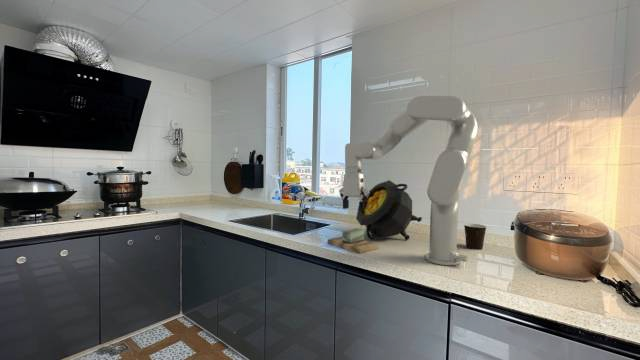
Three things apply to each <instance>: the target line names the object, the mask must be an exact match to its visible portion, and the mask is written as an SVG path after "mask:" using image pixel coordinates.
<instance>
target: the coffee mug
mask: <svg viewBox="0 0 640 360" xmlns="http://www.w3.org/2000/svg"><path fill="white" fill-rule="evenodd" d="M486 232H487V225H484V224H480V223H464V237H465V245H466V248H467V249H469V250H475V251H478V250H480V251H482V250H483V247H484V244H485V243H484V242H485V237H486Z"/></svg>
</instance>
